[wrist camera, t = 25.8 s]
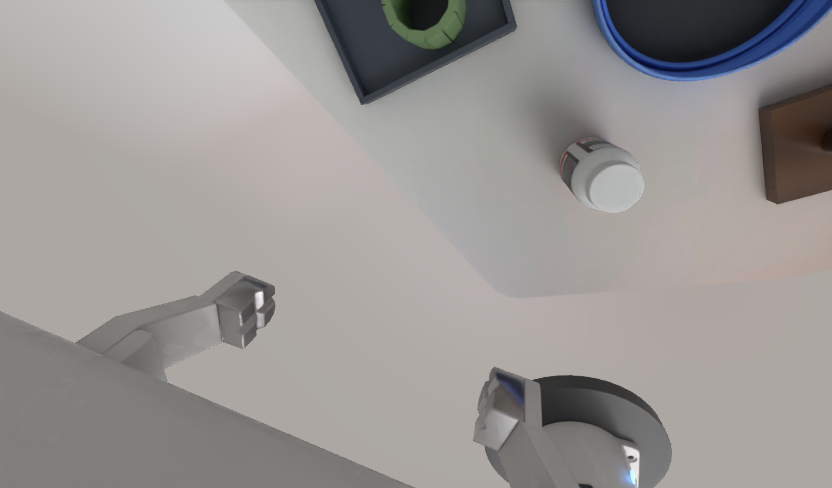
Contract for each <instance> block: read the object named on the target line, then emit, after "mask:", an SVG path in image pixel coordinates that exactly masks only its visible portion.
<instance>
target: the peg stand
mask: <svg viewBox="0 0 832 488" xmlns="http://www.w3.org/2000/svg"><path fill="white" fill-rule="evenodd" d="M759 118H760V129H761V140H762V151H763V163H764V174H765V185H766V196H767V200H769V201H771V202H774V203H776V204H781V203H784V202H788V201H792V200H796V199H800V198H803V197H807V196H811V195H815V194H818V193H822V192H826V191H830V190H832V84H831V85H828V86H826V87H823V88H820V89H817V90H814V91H811V92H808V93H805V94H802V95H799V96H796V97H793V98H790V99H788V100H785V101H782V102H779V103H776V104H773V105H770V106H767V107H764V108H761V109H759Z"/></svg>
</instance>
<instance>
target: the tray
mask: <svg viewBox="0 0 832 488" xmlns="http://www.w3.org/2000/svg"><path fill="white" fill-rule="evenodd" d="M314 1H315V3H316V5H317V7H318V9H319V12H320V14H321V16H322V18H323V21H324V23H325V25H326V27H327V29H328V32H329V34H330V36H331V38H332V41H333V43H334V45H335V47H336V49H337V52H338V54H339V56H340V58H341V61H342V63H343V65H344V67H345V70H346V72H347V74H348V76H349V78H350V81H351V83H352V85H353V87H354V90H355V92H356V94H357V96H358V98H359V101H360V103H361V105H364V104H369V103H371V102H373V101H375V100H377V99H379V98H381V97H383V96H385V95H387V94H389V93H391V92H393V91H395V90H397V89H399V88H401V87H403V86H405V85H407V84H409V83H411V82H413V81H415V80H417V79H419V78H421V77H423V76H425V75H427V74H429V73H431V72H433V71H435V70H437V69H439V68H441V67H443V66H445V65H447V64H449V63H451V62H453V61H455V60H457V59H459V58H461V57H463V56H465V55H467V54H469V53H471V52H473V51H475V50H477V49H479V48H481V47H483V46H485V45H487V44H489V43H491V42H493V41H495V40H497V39H499V38H501V37H503V36H505V35H507V34H509V33H511V32H513V31H515V30H516V27H517V25H516V22H515V18H514V15H513V11H512V8H511V4H510V1H509V0H465V1H466V7H467V9H466V16H465V22H464V25H462V26H463V28H462V30H461V31H460V33H459V34H458V36H457V37H456V39H455V40H454V41H453V40H452V43H451V44H449V45H447V46H445V47H443V48H441V49H437V50H430V49H423V48H421V47H419V46H417V45H415V44H413V43H411V42H409V41H407V40H405V39H403V38H402V37H401V36H400V35H399V34H397V33H396V32H395V31H394V30H393V29H392V28H391V26H390V25H389V23H388V21H387V18H386V16H385V13H384V11H383V8H382V7H383V6H384V5H383V4H382V0H314ZM447 8H448V0H413V1H412V3H411V13H410V19H411V22H412V24H413V27H414V30H421V31H425V30H427V29H429V28H430V27H432V26H434V25H436V24H438V23H439V21H440V19H441V18H442V16H443V15H444V13H445V11H446V10H447Z"/></svg>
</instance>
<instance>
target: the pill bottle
mask: <svg viewBox="0 0 832 488" xmlns="http://www.w3.org/2000/svg"><path fill="white" fill-rule="evenodd" d="M559 172H560V175H561V178H562V180H563V181H564V183H565V184H566V185H567V187H568V188H569V189H570V191H571V192H572V193H573V194H574V196H575V197H576V199H577V200H578V201H579V202H581V203H582V204H583V205H585V206H587V207H589V208H592V209H598V210H601V211H604V212H609V213H616V212H621V211H624V210H626V209H628V208H630V207H632V206H633V205H634V204H635V203H636V202H637V201H638V200H639V199H640V197H641V196H642V194H643V191H644V178H643V176H642V174H641V171H640V167H639V164H638V162H637V160H636V159H635V158H634V157H633V156H632V155H631V154H630V153H629V152H627V151H625V150H623V149H621V148H619V147H617V146H615V145H613V144H611V143H609V142H607V141H605V140H602V139H599V138H593V137H591V138H584V139H580V140H578V141H576V142H574V143H573V144H571V145H570V146H569V147H568V148H567V149H566V150H565V152H564V153H563V155H562V157H561V160H560V163H559Z"/></svg>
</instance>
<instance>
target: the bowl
mask: <svg viewBox="0 0 832 488" xmlns="http://www.w3.org/2000/svg"><path fill="white" fill-rule="evenodd" d="M592 2H593V8H594V12H595V16H596V19H597V22H598V25H599V28H600V30H601V32H602V34H603V36H604V38H605V39H606V41H607V43H608V44H609V45H610V47H611V48H612V49H613V51H614V52H615V53H616V54H617V55H618V56H619V57H620V58H621V59H622V60H624V61H625V62H626V63H627V64H629V65H630V66H632V67H633V68H635V69H636V70H638V71H640V72H642V73H644V74H647V75H650V76H653V77H656V78H660V79H665V80H671V81H697V80H705V79H710V78H715V77H719V76H723V75H727V74H730V73H733V72H737V71H740V70H742V69H745V68H748V67H750V66H753V65H755V64H757V63H759V62H761V61H764V60H766V59H768V58H770V57H772V56H773V55H775V54H777V53H779V52H781V51H782V50H784V49H786V48H787V47H789V46H790V45H792V44H793V43H795V42H796V41H797V40H799V39H800V38H802V37H803V36H804V35H805V34H807V33H808V32H809V31H810V30H811V29H813V28H814V27H815V26H816V25H817V24H818V23H819V22H820V21H821V20H823V19H824V18H825V17H826V16H827V15H828V14H829V13H830V11H831V10H832V0H592Z"/></svg>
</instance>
